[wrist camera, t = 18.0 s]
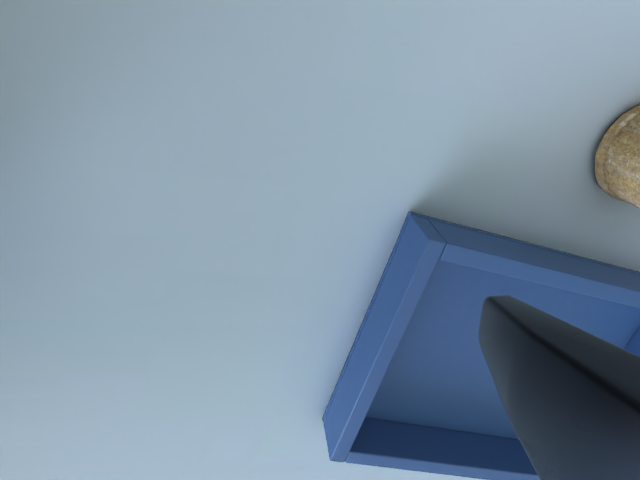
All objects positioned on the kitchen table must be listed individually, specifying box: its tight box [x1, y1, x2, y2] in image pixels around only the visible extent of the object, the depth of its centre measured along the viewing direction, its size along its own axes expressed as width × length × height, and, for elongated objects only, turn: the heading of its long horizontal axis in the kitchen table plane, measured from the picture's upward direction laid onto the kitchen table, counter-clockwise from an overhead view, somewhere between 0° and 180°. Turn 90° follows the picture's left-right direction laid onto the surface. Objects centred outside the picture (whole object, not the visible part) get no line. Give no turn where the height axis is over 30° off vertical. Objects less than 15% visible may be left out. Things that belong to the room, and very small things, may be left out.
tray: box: [323, 212, 640, 480], centre depth 24 cm, size 16×13×3 cm
